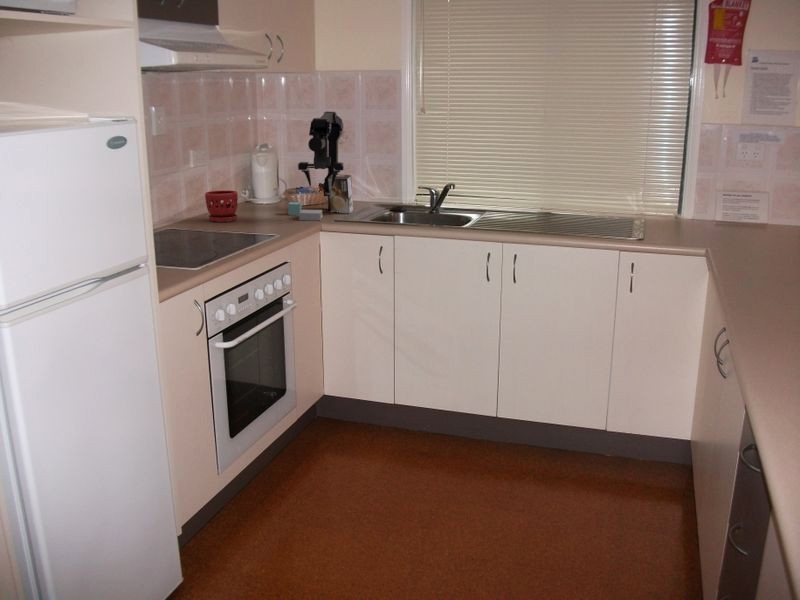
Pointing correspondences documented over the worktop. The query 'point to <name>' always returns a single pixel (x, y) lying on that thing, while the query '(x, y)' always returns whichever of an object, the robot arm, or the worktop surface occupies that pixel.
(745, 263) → the worktop surface
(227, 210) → the plant pot
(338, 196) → the coffee box
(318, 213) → the stone plinth
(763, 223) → the worktop surface
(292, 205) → the teal cube
